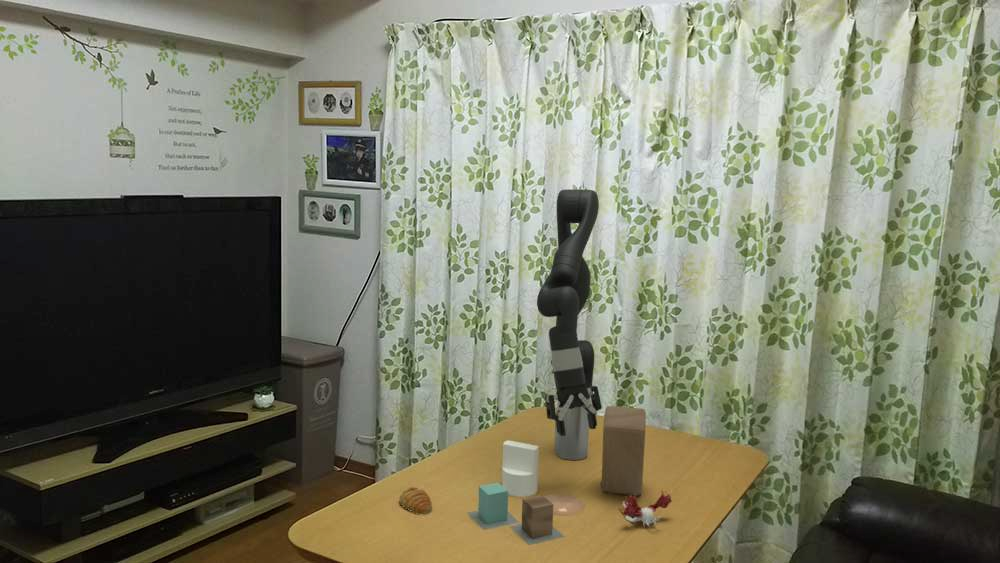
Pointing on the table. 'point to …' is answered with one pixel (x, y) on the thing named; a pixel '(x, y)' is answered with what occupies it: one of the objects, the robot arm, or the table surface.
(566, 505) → the pink round disc
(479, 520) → the code tile
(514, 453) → the cylinder with rectangular tab
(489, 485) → the teal block
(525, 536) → the code tile
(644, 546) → the table surface
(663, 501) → the figurine
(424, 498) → the pastry
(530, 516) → the walnut block
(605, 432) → the block
